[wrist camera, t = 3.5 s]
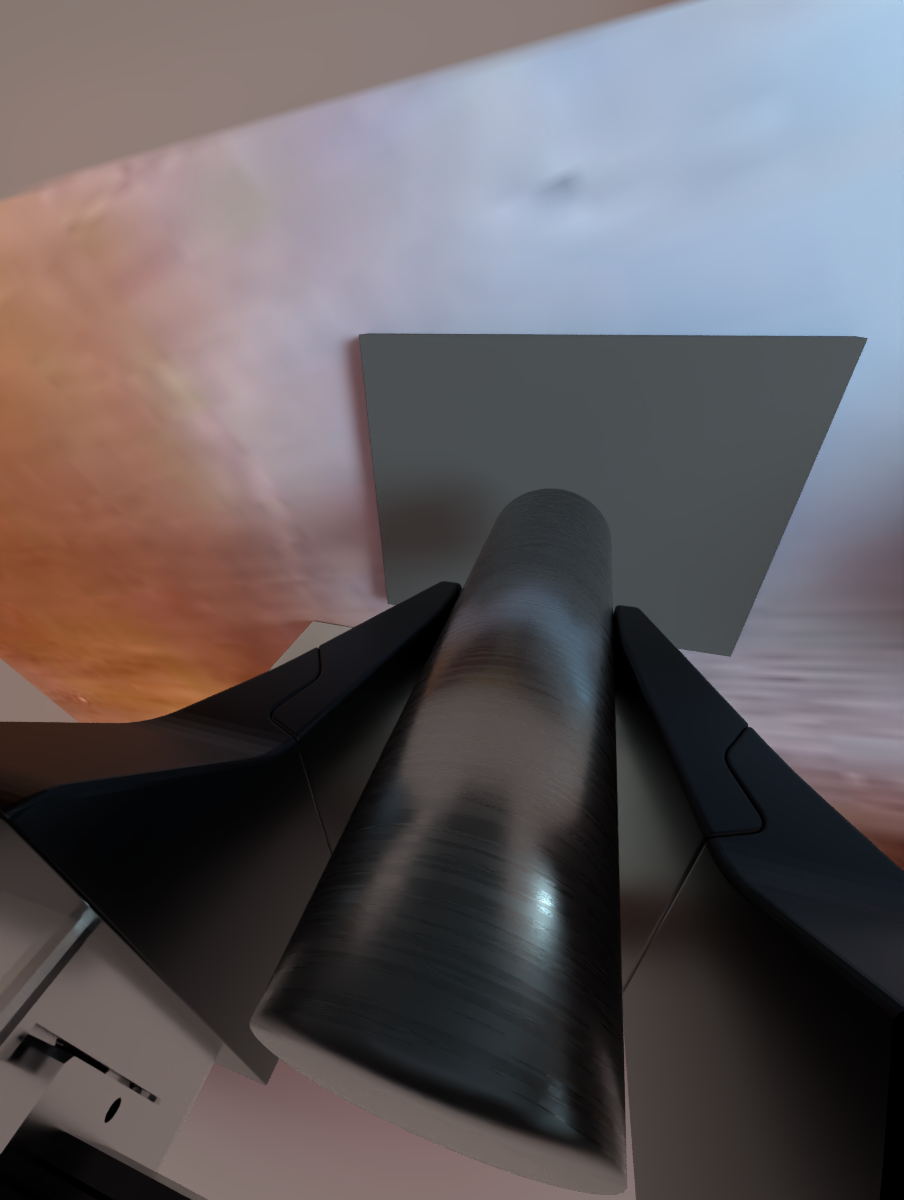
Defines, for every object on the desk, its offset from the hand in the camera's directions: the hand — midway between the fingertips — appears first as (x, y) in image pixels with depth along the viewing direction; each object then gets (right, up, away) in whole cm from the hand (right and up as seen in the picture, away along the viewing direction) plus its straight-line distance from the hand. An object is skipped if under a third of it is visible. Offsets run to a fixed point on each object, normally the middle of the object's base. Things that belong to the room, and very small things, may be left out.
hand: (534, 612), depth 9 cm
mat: (+2, +3, +5) cm, 6 cm away
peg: (+1, +2, +2) cm, 3 cm away
